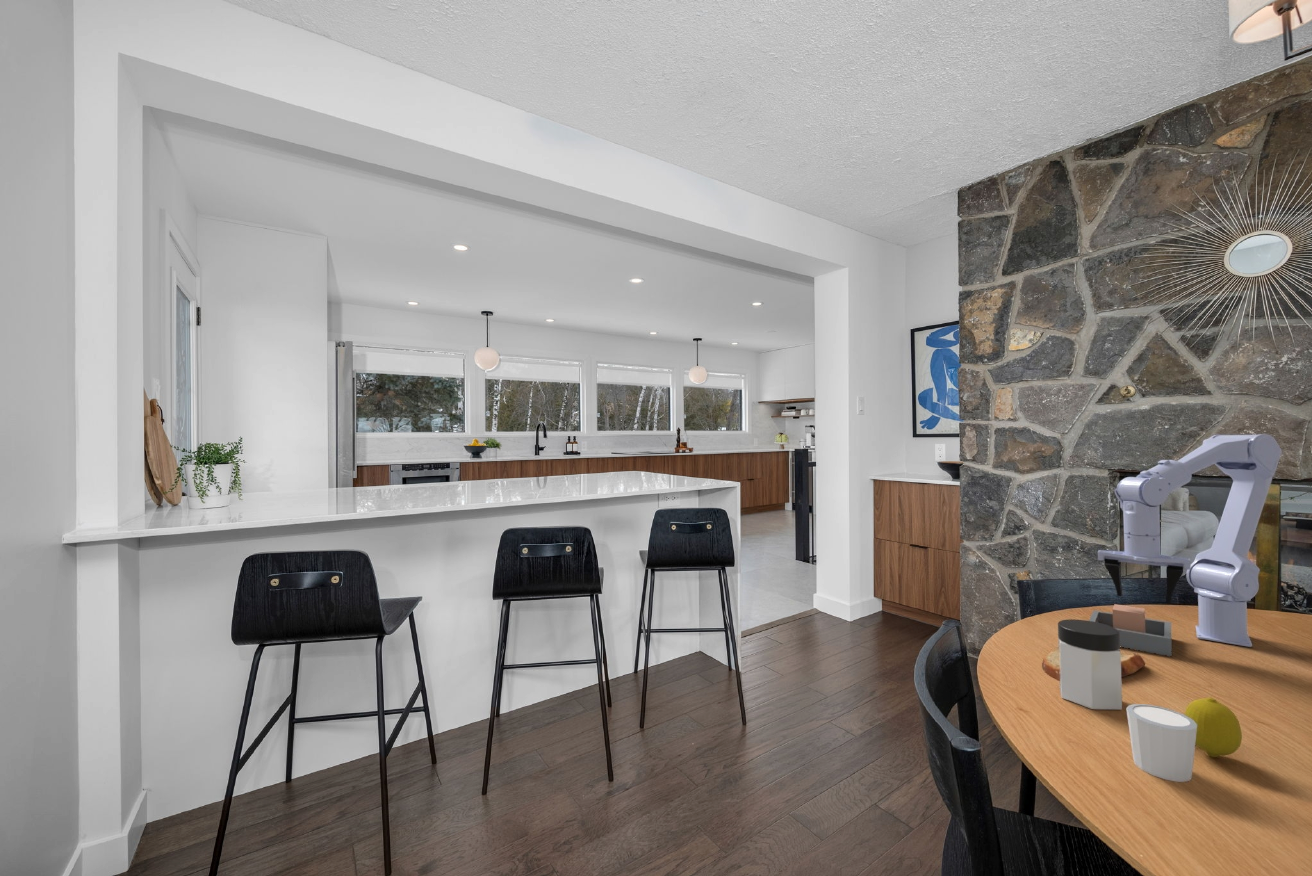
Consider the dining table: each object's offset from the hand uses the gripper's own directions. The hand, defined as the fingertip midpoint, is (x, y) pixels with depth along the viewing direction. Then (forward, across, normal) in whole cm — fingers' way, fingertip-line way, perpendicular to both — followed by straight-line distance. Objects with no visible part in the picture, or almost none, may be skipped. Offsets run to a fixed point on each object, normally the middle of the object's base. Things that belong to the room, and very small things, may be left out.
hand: (1143, 598), depth 115 cm
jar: (+9, -6, -38) cm, 40 cm away
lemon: (+9, +9, -48) cm, 50 cm away
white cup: (+9, +4, -56) cm, 57 cm away
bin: (+9, -2, 0) cm, 10 cm away
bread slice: (+10, -6, -23) cm, 26 cm away
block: (+9, -2, 0) cm, 9 cm away
